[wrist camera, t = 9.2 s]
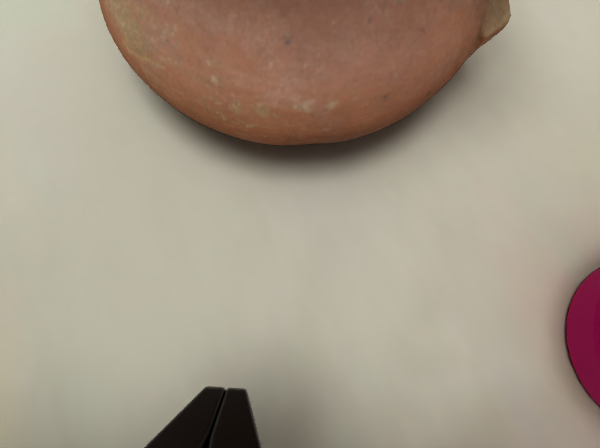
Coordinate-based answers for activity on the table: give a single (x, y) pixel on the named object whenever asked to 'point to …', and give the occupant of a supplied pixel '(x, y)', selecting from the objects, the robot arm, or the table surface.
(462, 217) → the table surface
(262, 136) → the ceramic jug
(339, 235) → the table surface
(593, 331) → the pepper mill
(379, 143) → the table surface
